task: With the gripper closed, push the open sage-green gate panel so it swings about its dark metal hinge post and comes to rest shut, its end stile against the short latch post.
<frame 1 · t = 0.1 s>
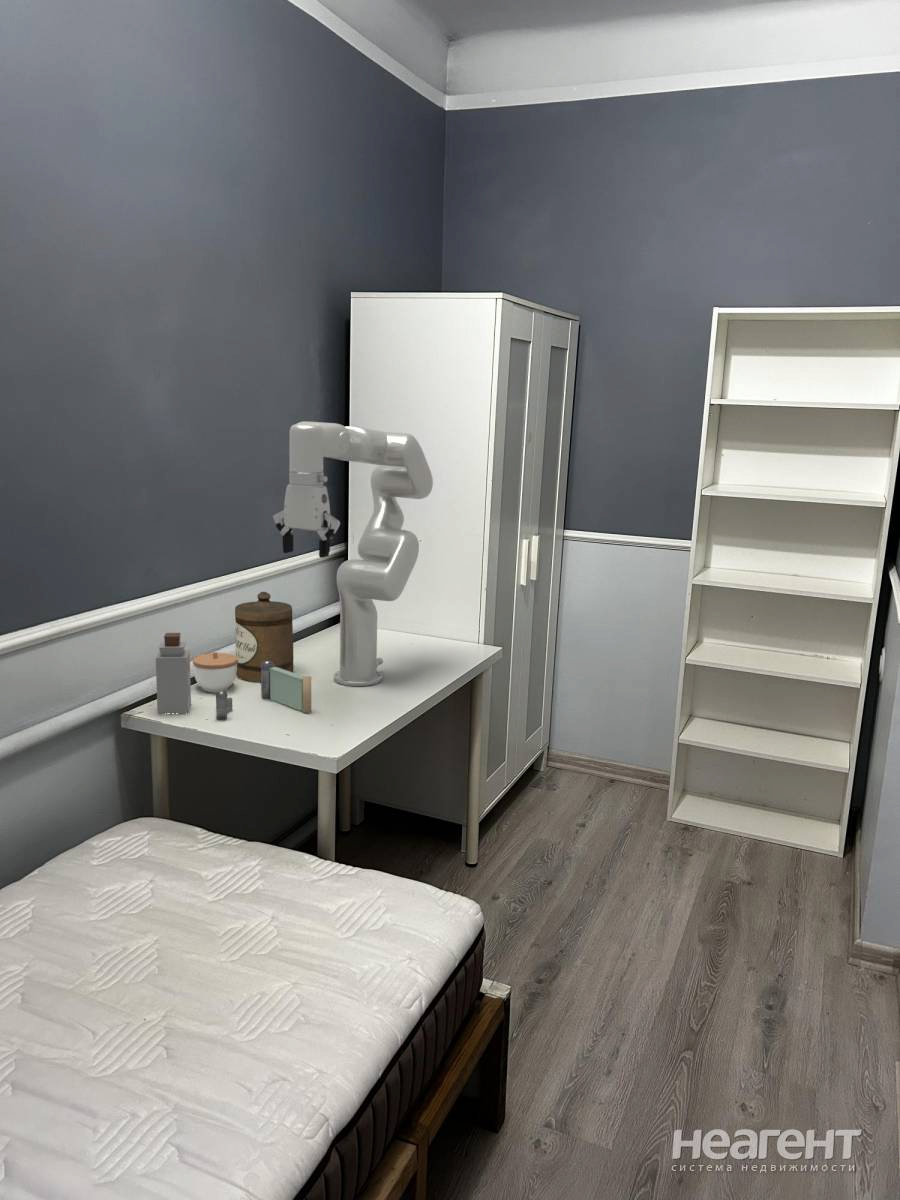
hand: (306, 554, 214), 37 cm above the table, tool pointing down, fingers open, 9 cm apart
perfume bottle: (174, 710, 217), on the table
latch post: (221, 718, 212), on the table
wooden container: (264, 674, 245), on the table
hinge post: (267, 697, 227), on the table
lidded jar: (215, 689, 233), on the table
gate: (290, 688, 221), point 4 cm above the table, hinge at 75.0°
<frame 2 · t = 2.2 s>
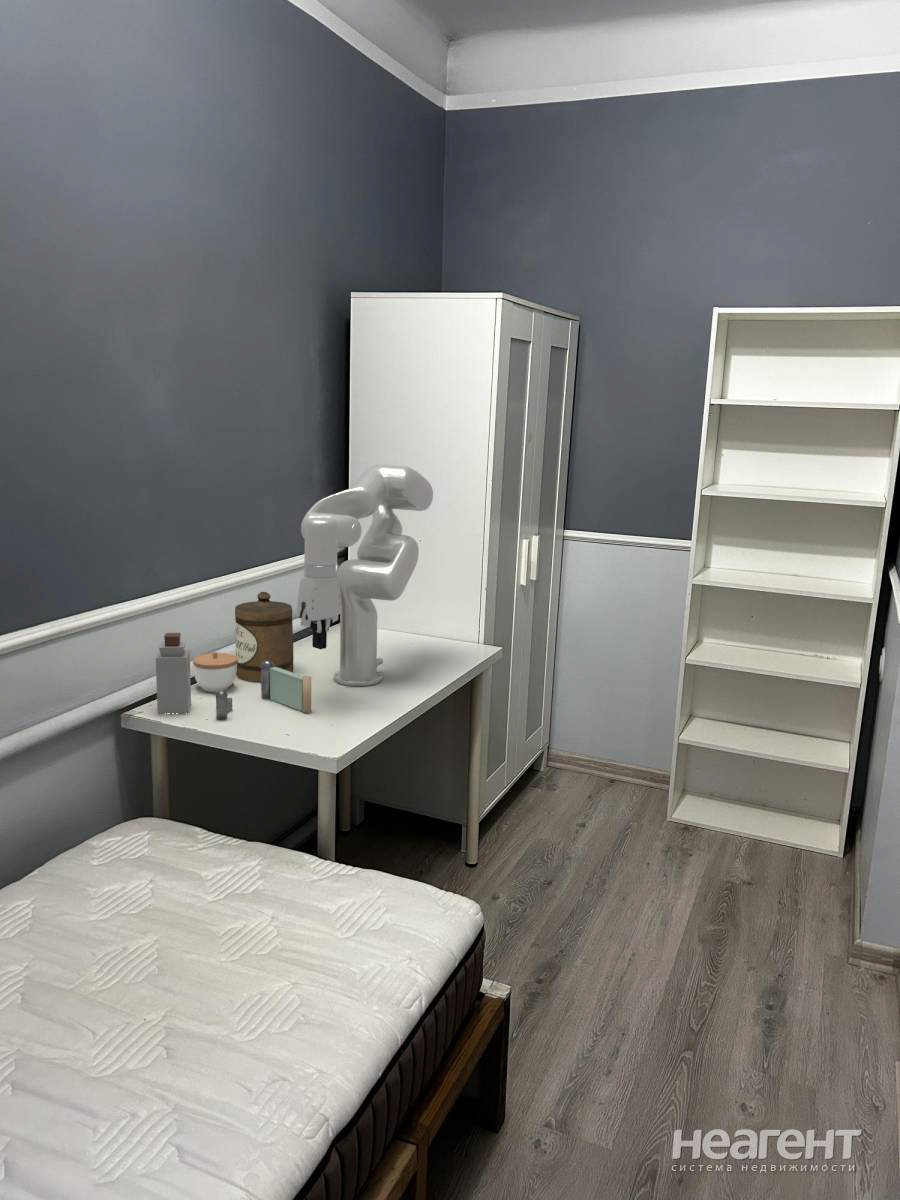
hand: (319, 647, 221), 14 cm above the table, tool pointing down, fingers closed
nothing on the table moved.
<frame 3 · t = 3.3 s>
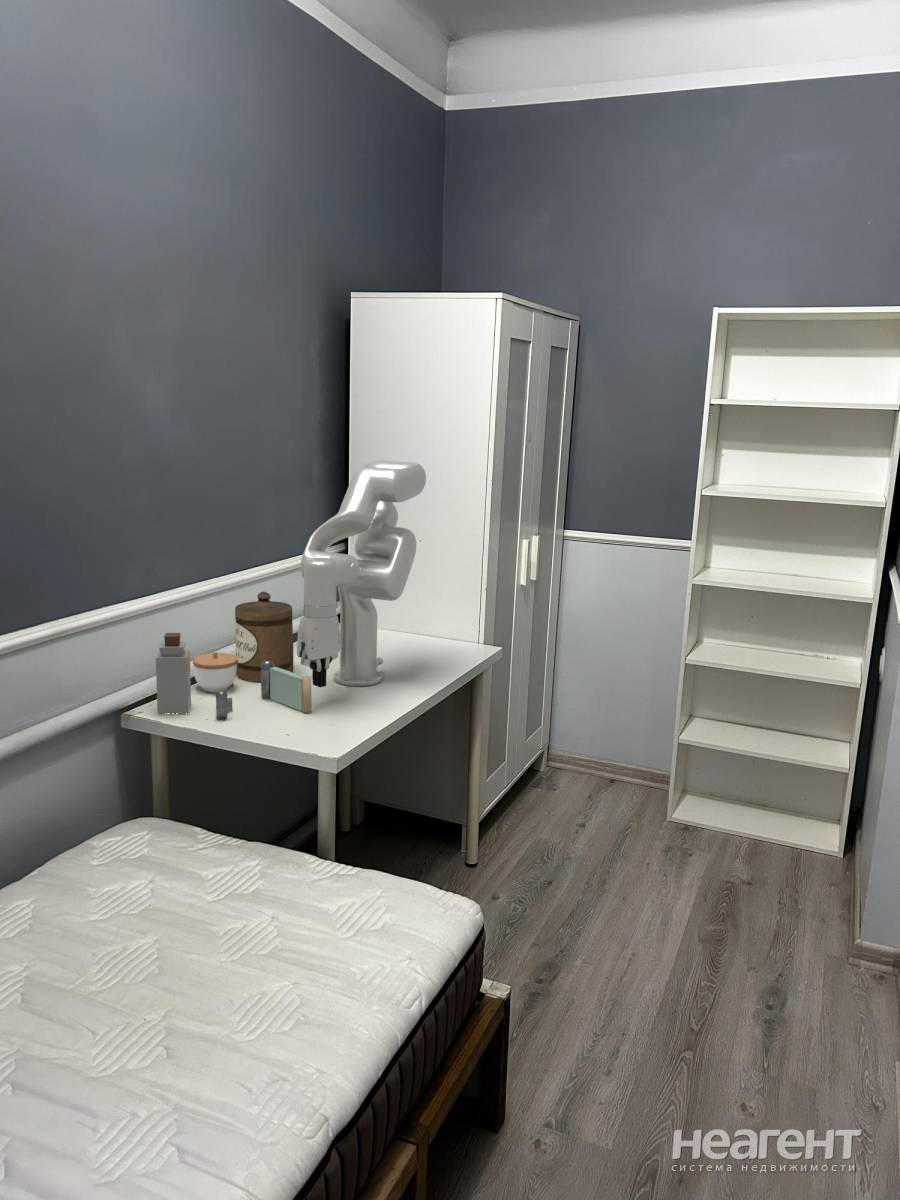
hand: (319, 685, 223), 5 cm above the table, tool pointing down, fingers closed
nothing on the table moved.
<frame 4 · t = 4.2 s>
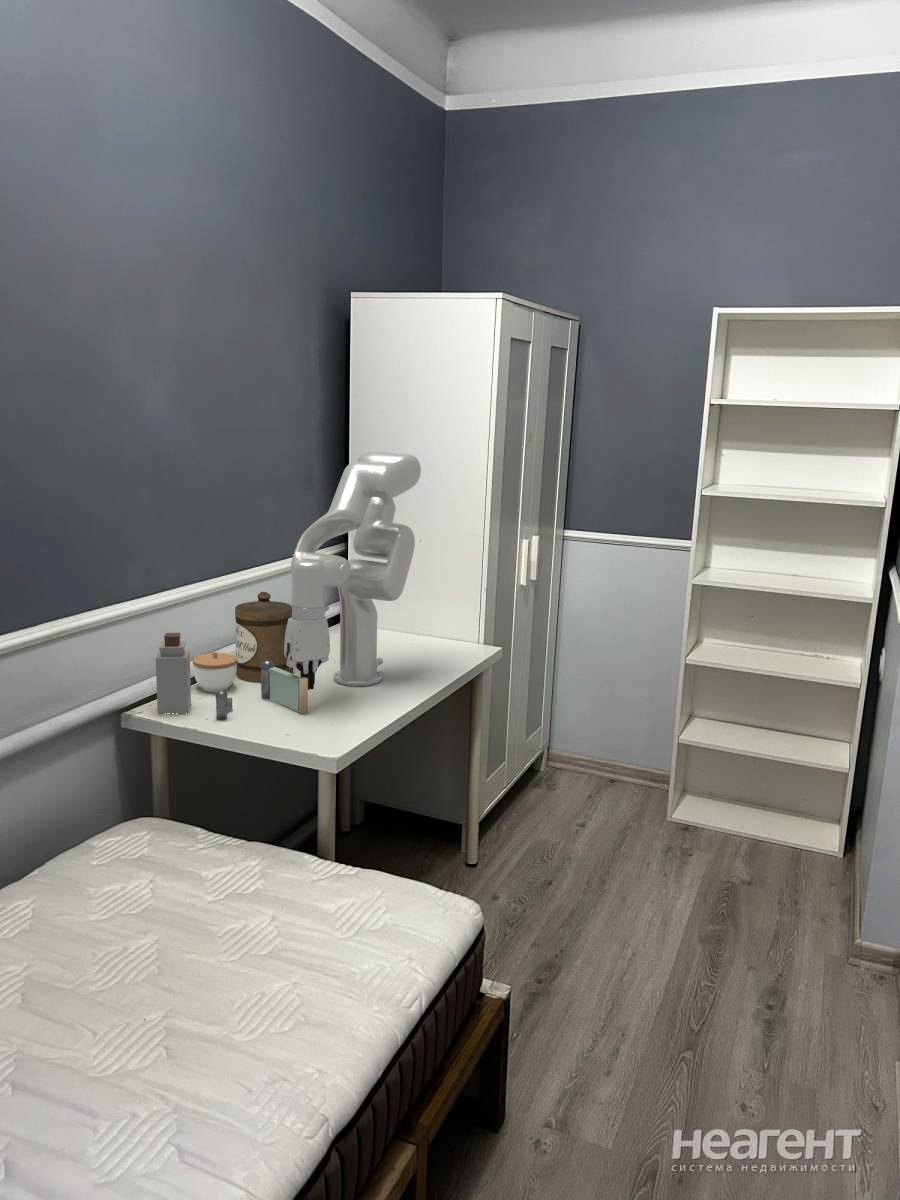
hand: (307, 688, 220), 5 cm above the table, tool pointing down, fingers closed
gate: (288, 689, 220), point 4 cm above the table, hinge at 70.9°, touching gripper
everything else where it was.
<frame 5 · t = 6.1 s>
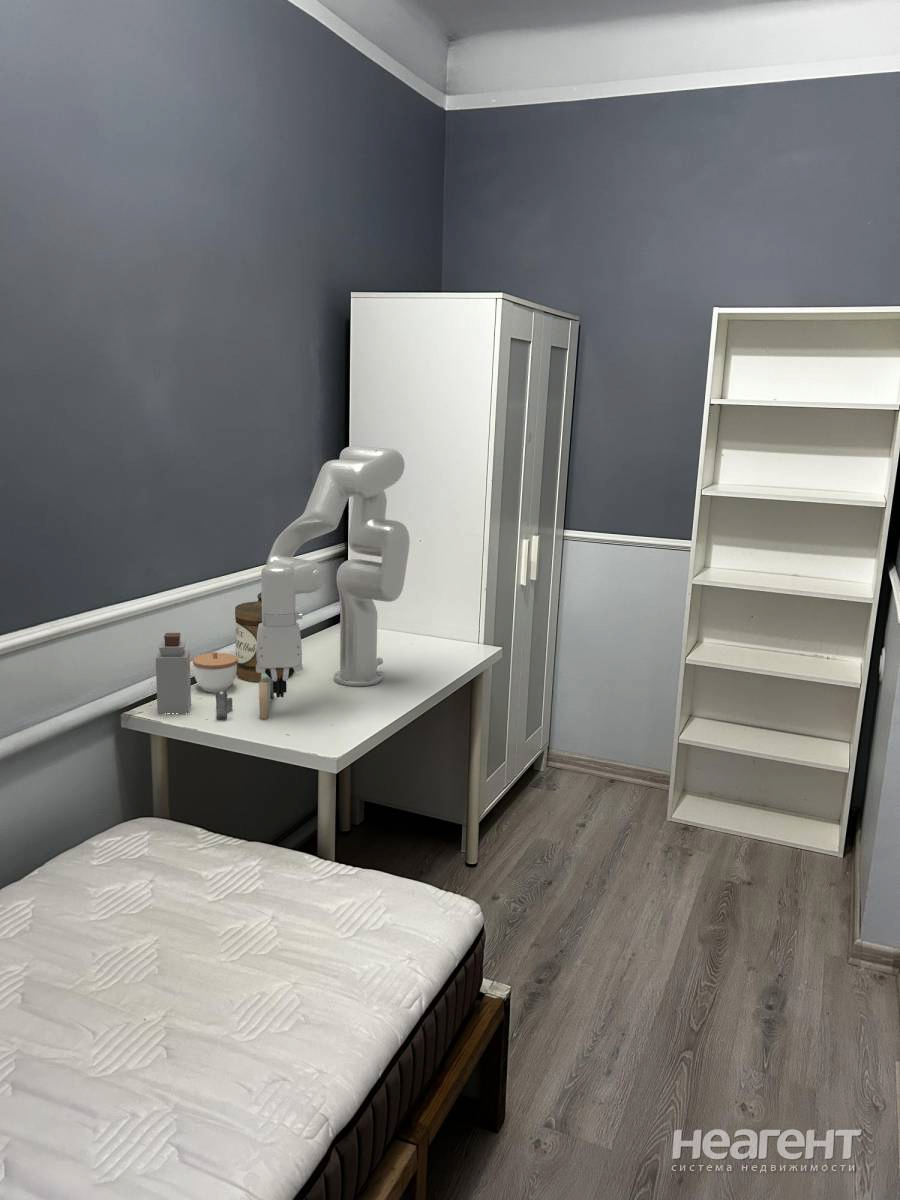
hand: (279, 695, 216), 4 cm above the table, tool pointing down, fingers closed
gate: (265, 691, 218), point 4 cm above the table, hinge at 33.3°, touching gripper
everything else where it was.
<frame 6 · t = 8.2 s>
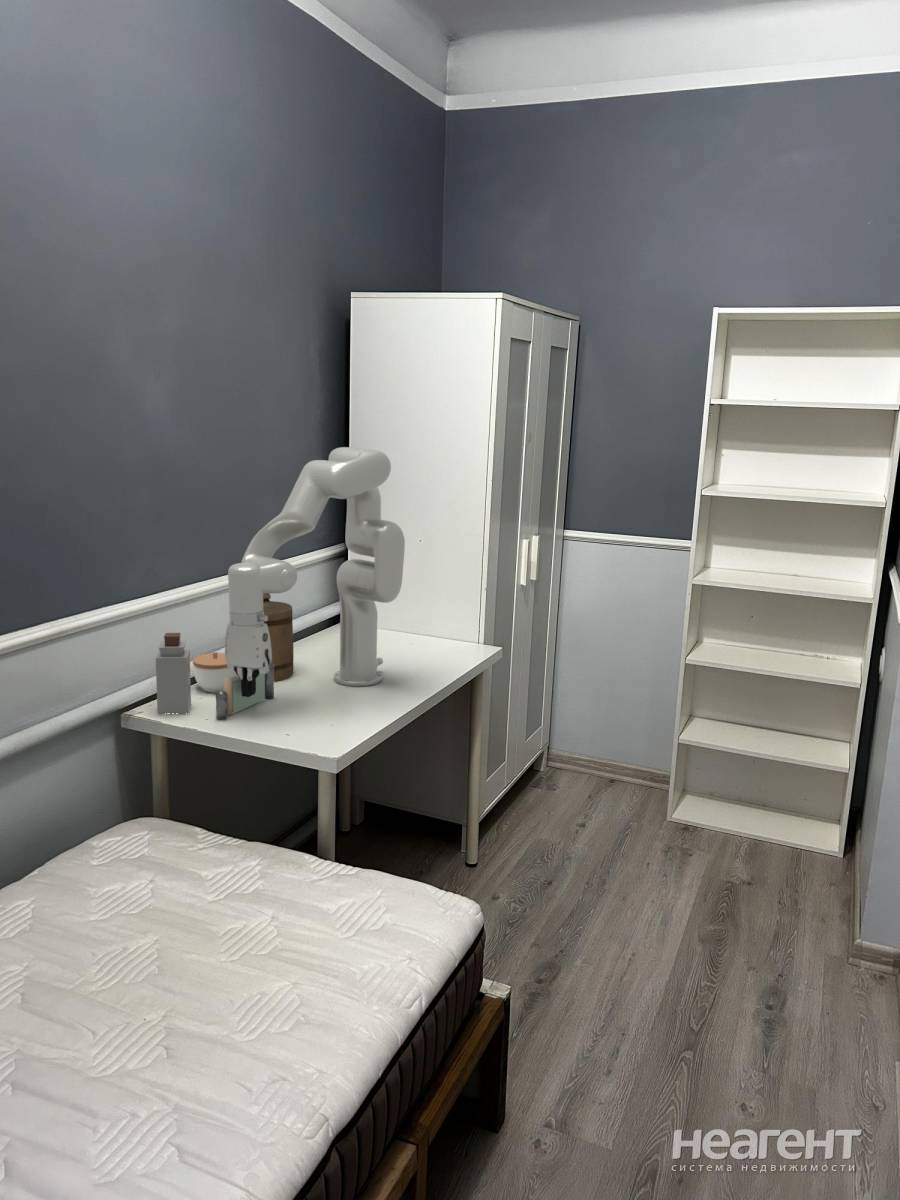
hand: (248, 695, 215), 4 cm above the table, tool pointing down, fingers closed
gate: (244, 690, 219), point 4 cm above the table, hinge at -1.3°, touching gripper
everything else where it was.
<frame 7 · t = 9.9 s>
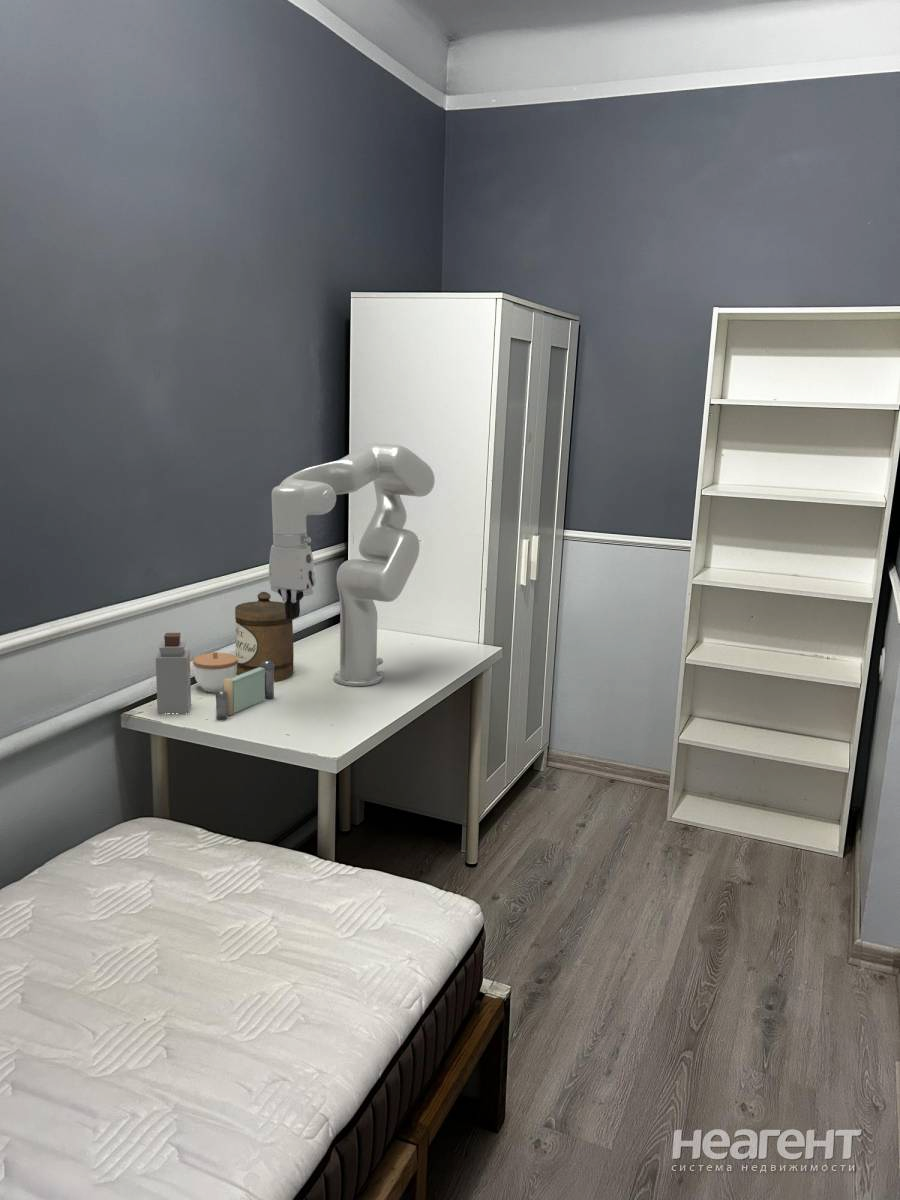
hand: (292, 617, 217), 22 cm above the table, tool pointing down, fingers closed
gate: (244, 690, 219), point 4 cm above the table, hinge at -0.8°
everything else where it was.
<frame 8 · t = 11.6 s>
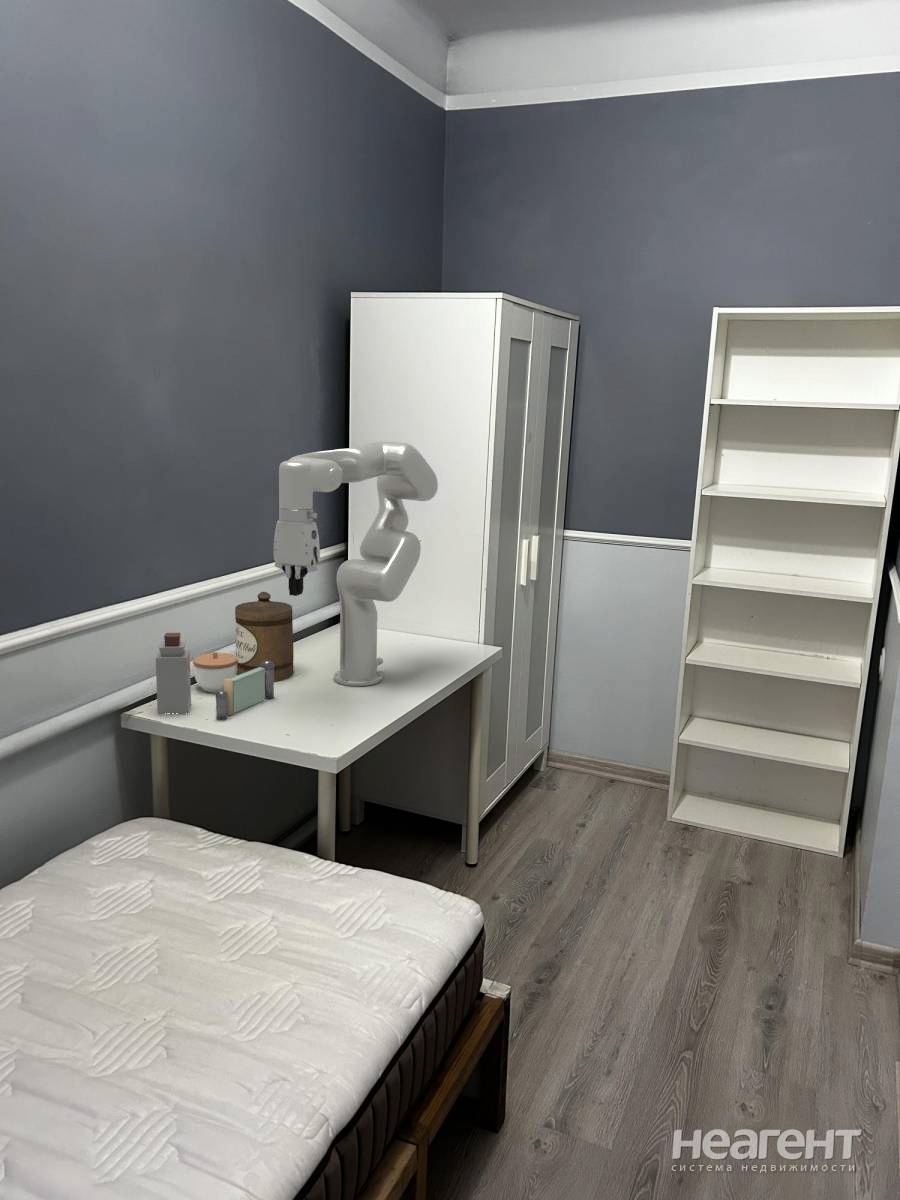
hand: (295, 594, 217), 27 cm above the table, tool pointing down, fingers closed
nothing on the table moved.
at the end: gate at -1° (first picture: +75°); perfume bottle moved 0.2 cm from its start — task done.
